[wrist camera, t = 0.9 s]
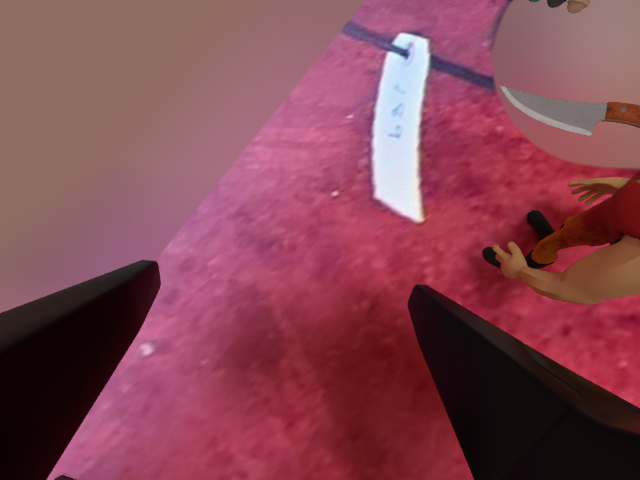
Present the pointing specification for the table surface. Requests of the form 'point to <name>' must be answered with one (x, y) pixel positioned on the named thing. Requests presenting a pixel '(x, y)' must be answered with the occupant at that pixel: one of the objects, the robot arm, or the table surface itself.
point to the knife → (573, 111)
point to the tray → (62, 478)
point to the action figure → (584, 229)
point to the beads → (575, 4)
